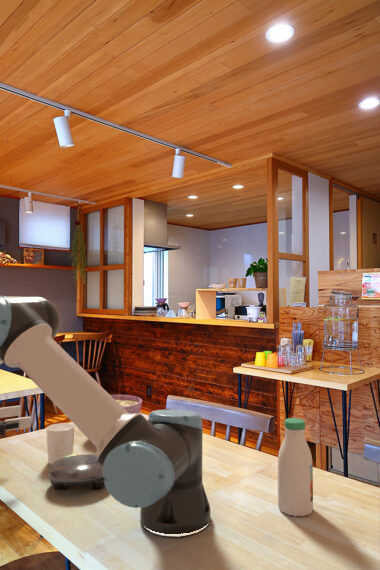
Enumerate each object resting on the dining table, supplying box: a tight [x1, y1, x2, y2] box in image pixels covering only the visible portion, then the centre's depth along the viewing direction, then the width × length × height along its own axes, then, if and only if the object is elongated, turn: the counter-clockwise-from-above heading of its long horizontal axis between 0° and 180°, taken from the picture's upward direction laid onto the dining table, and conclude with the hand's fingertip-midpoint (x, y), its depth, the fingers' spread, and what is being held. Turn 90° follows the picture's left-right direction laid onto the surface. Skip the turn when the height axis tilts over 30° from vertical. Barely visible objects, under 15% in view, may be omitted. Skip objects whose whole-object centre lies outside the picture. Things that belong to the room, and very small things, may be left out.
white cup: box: [46, 422, 75, 466], centre depth 128 cm, size 8×8×10 cm
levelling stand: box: [47, 453, 105, 492], centre depth 114 cm, size 17×16×4 cm
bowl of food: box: [109, 394, 143, 414], centre depth 153 cm, size 20×20×12 cm
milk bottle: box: [277, 417, 314, 517], centre depth 99 cm, size 8×8×20 cm
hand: (25, 415), depth 123 cm, fingers open, 13 cm apart
